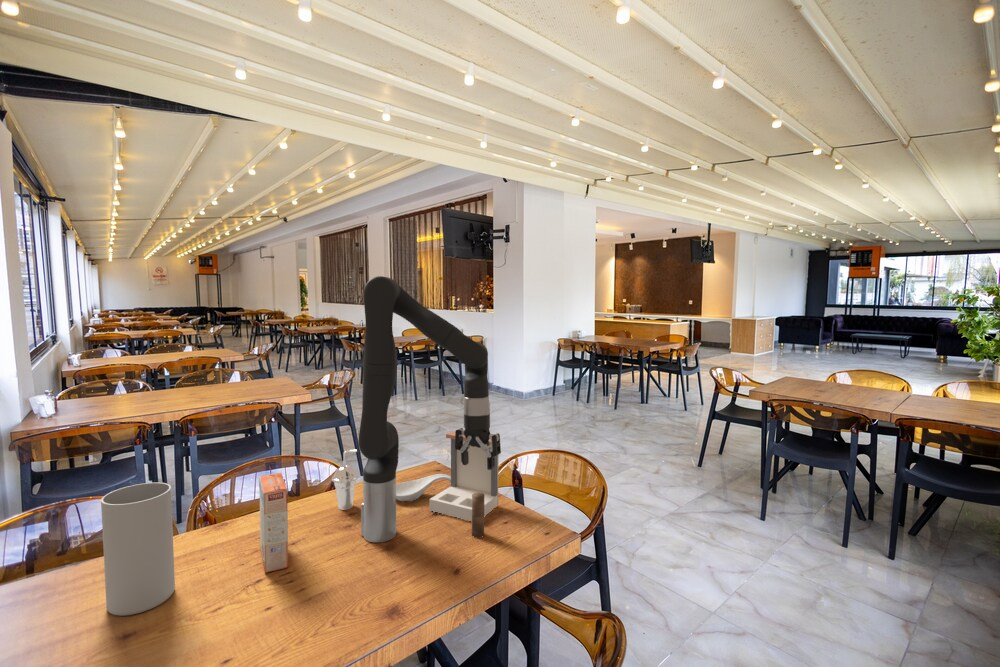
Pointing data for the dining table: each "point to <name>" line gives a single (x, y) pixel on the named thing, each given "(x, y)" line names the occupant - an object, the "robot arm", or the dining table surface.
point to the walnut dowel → (478, 514)
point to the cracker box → (273, 522)
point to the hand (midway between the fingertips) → (477, 466)
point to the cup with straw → (345, 484)
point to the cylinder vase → (138, 547)
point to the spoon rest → (417, 487)
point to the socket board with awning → (467, 483)
